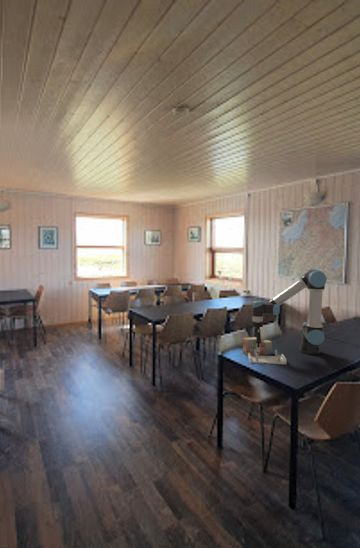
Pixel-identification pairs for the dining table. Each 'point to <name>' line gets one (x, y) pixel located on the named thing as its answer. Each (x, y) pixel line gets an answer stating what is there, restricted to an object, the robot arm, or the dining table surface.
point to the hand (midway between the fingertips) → (256, 348)
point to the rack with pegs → (267, 358)
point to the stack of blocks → (250, 345)
